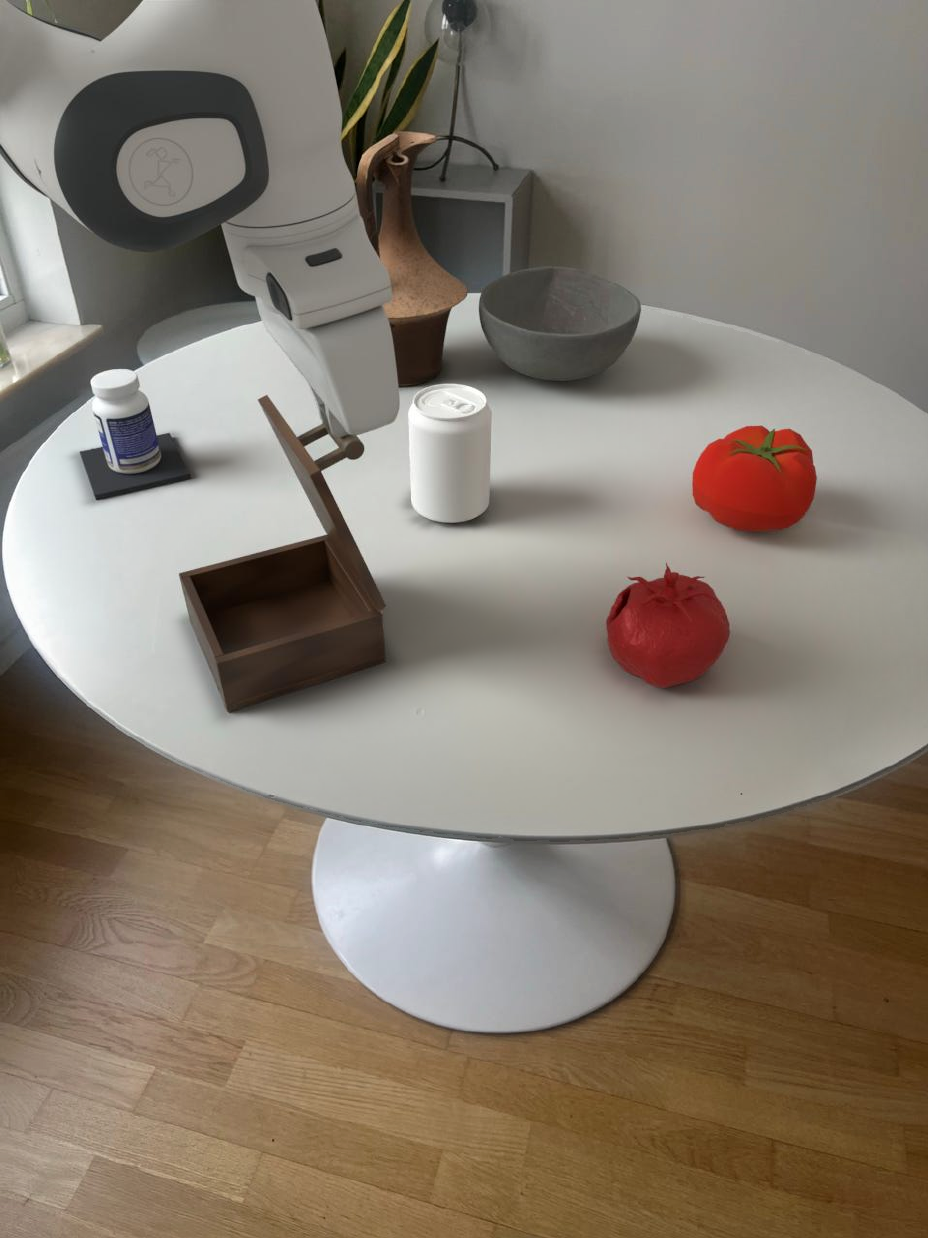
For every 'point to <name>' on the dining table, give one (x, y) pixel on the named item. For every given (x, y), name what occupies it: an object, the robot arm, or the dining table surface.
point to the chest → (282, 621)
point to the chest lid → (324, 489)
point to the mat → (116, 483)
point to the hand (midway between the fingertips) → (338, 427)
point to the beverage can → (450, 452)
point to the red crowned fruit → (667, 629)
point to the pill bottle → (124, 422)
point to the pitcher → (407, 259)
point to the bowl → (558, 322)
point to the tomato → (756, 479)
